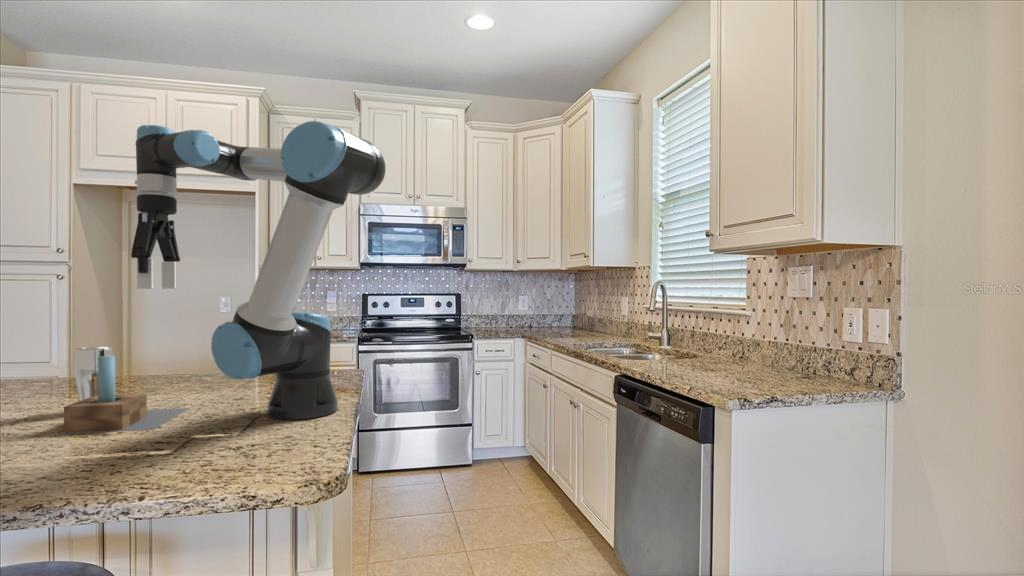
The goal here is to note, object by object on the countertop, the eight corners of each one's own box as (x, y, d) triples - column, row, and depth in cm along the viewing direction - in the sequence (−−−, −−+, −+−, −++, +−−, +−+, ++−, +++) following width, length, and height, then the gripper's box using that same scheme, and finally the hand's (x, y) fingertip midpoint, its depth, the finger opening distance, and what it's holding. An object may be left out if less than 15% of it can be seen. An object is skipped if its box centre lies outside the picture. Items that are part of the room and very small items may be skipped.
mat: (189, 410, 120) (190, 408, 120) (153, 432, 102) (153, 429, 102) (111, 413, 116) (111, 411, 116) (60, 437, 99) (60, 433, 99)
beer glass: (96, 418, 113) (96, 350, 113) (65, 417, 113) (65, 349, 113) (121, 410, 120) (121, 346, 120) (91, 409, 120) (91, 345, 120)
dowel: (118, 422, 107) (118, 355, 107) (110, 425, 105) (110, 357, 105) (103, 422, 107) (102, 355, 107) (95, 426, 104) (94, 357, 104)
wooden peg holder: (146, 416, 112) (146, 394, 112) (122, 429, 102) (122, 404, 102) (93, 419, 110) (93, 395, 110) (63, 432, 100) (63, 406, 100)
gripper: (159, 203, 128) (160, 288, 128) (111, 184, 104) (112, 288, 104) (193, 204, 130) (194, 288, 130) (153, 186, 106) (154, 288, 106)
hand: (157, 288), depth 117 cm, fingers open, 13 cm apart
